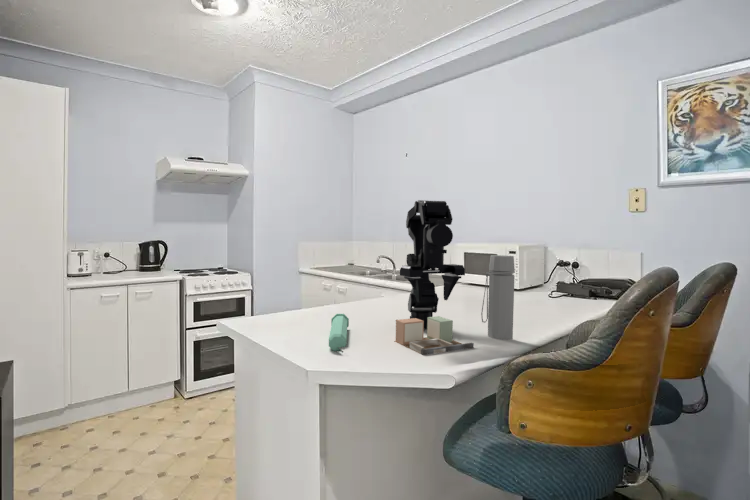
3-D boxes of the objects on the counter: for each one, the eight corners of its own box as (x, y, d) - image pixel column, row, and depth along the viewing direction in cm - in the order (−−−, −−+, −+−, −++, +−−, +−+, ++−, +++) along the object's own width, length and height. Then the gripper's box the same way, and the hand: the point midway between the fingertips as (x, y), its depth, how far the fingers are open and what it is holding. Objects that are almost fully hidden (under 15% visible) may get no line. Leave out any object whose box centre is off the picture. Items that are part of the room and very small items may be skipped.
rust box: (395, 341, 116) (396, 319, 116) (415, 339, 119) (415, 318, 119) (403, 345, 113) (403, 322, 113) (423, 342, 116) (424, 320, 115)
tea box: (438, 336, 123) (438, 316, 122) (452, 341, 117) (452, 320, 117) (426, 338, 121) (427, 317, 121) (440, 343, 115) (440, 321, 115)
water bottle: (514, 338, 126) (516, 255, 125) (511, 345, 119) (513, 256, 118) (483, 335, 130) (485, 254, 129) (478, 341, 123) (480, 255, 122)
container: (343, 329, 109) (345, 310, 134) (322, 338, 109) (328, 317, 134) (352, 350, 110) (352, 327, 135) (330, 358, 110) (334, 334, 135)
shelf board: (441, 339, 124) (441, 330, 124) (473, 352, 111) (474, 342, 111) (393, 345, 117) (394, 335, 117) (422, 359, 104) (423, 349, 104)
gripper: (443, 244, 129) (441, 295, 130) (390, 244, 121) (389, 298, 121) (466, 246, 120) (465, 300, 120) (411, 246, 111) (410, 305, 112)
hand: (432, 301), depth 119 cm, fingers open, 9 cm apart
